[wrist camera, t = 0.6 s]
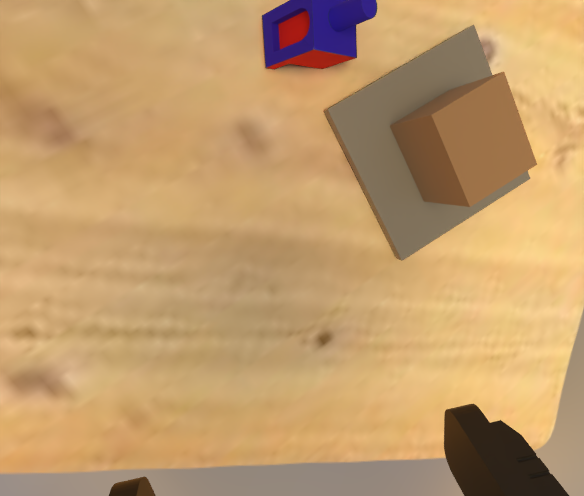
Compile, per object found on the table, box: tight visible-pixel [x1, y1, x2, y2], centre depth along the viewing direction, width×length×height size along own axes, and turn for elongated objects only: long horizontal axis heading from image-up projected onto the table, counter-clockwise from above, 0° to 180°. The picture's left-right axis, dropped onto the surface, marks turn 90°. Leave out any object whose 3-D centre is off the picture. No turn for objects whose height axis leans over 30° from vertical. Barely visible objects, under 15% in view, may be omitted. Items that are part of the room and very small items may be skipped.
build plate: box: [324, 25, 537, 260], centre depth 31 cm, size 14×14×7 cm
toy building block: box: [262, 0, 377, 69], centre depth 28 cm, size 4×4×8 cm
